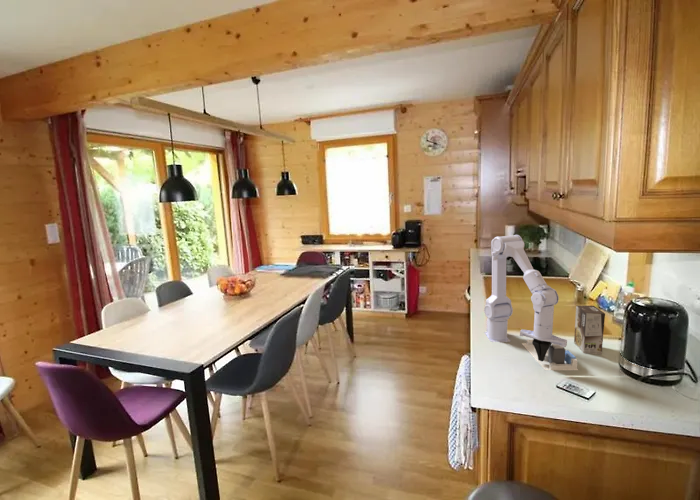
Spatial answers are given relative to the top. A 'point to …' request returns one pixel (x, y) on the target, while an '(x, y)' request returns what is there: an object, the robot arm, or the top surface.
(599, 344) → the coffee box
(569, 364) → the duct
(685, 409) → the top surface
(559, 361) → the plug
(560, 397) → the top surface
